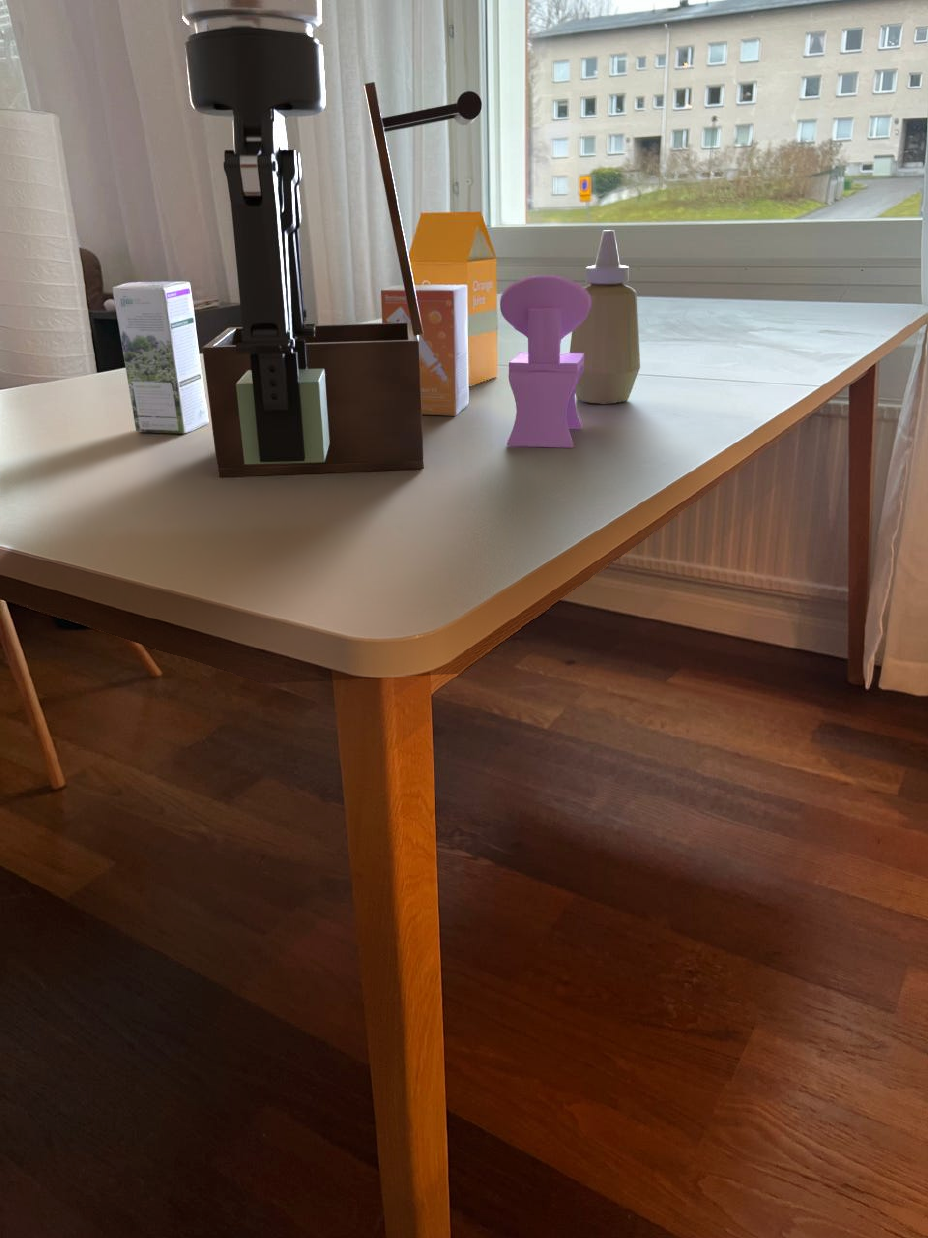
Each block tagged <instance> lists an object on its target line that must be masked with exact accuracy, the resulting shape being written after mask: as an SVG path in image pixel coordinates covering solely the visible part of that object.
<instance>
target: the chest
mask: <svg viewBox="0 0 928 1238" xmlns="http://www.w3.org/2000/svg"><path fill="white" fill-rule="evenodd" d="M242 332H243V328H242V326H238V327H237V326H236V327H235V326H233V327H228V328H226V329H225V330H224V331H222V332H221V333H220V334H219V335H217V336H216V337H215V338H213V339H212V340H210V341H209V342H208V343H207V344H205V345H204V346H203V347H202V348H201V350H202V359H203V365H204V373H205V381H206V391H207V397H208V407H209V413H210V420H211V428H212V430H211V431H212V437H213V445H214V452H215V461H216V468H217V474H218V477H219V478H231V477H233V478H234V477H256V476H259V477H260V476H281V475H282V476H284V475H286V476H287V475H309V474H310V475H311V474H334V473H359V472H360V473H361V472H364V473H365V472H388V471H390V472H391V471H413V470H424V469H425V468H424V467H425V465H424V461H425V460H424V439H423V438H424V437H423V414H422V410H421V385H420V360H419V340H418V335H416V336H414V335H413V330H412V325H411V322H397V323H382V322H367V323H339V324H338V323H337V324H336V323H335V324H333V323H332V324H315V337H297V339H305V342H306V356H307V369H324V370H325V384H326V399H327V413H328V427H329V442H330V444H329V447H328V451H327V455H326V458H325V462H313V463H278V464H244V454H243V445H242V436H241V426H240V417H239V407H238V398H237V389H236V384H237V382H238V381H239V380H240V379H241V378H242V377H243V375H244V374H245V373H246V372H247V371H248V370H251V360H250V354H249V355H238V354H237V351H236V344H235V343H243V341H242V335H241V334H242Z"/></svg>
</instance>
